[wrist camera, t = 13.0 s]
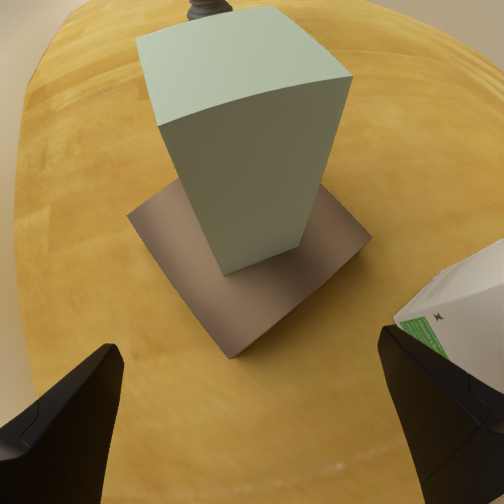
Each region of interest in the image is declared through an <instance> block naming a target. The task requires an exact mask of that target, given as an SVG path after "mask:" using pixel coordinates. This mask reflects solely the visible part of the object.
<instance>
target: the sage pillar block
mask: <svg viewBox="0 0 504 504" xmlns="http://www.w3.org/2000/svg"><path fill="white" fill-rule="evenodd" d="M135 41H136V45H137V49H138V54H139V58H140V62H141V66H142V70H143V74H144V77H145V81H146V85H147V89H148V93H149V96H150V100H151V104H152V107H153V111H154V114H155V118H156V121H157V125H158V128H159V130H160V133H161V135H162V137H163V140H164V142H165V145H166V147H167V150H168V152H169V154H170V157H171V159H172V162H173V164H174V166H175V169H176V171H177V173H178V176H179V178H180V180H181V183H182V185H183V187H184V190H185V192H186V194H187V197H188V199H189V201H190V203H191V206H192V208H193V210H194V212H195V215H196V217H197V219H198V221H199V224H200V226H201V228H202V230H203V233H204V235H205V237H206V239H207V241H208V244H209V246H210V248H211V250H212V252H213V255H214V257H215V259H216V261H217V263H218V265H219V268H220V270H221V272H222V274H223V276H224V275H226V274H229V273H232V272H234V271H237V270H239V269H242V268H244V267H247V266H250V265H252V264H255V263H257V262H260V261H262V260H265V259H267V258H270V257H272V256H275V255H278V254H280V253H283V252H285V251H288V250H290V249H293V248H295V247H298V245H299V243H300V240H301V237H302V234H303V231H304V229H305V226H306V223H307V220H308V217H309V214H310V211H311V208H312V205H313V203H314V200H315V197H316V194H317V191H318V188H319V185H320V182H321V179H322V176H323V173H324V170H325V166H326V163H327V160H328V157H329V154H330V151H331V148H332V145H333V141H334V138H335V135H336V132H337V129H338V125H339V122H340V119H341V116H342V112H343V109H344V106H345V102H346V99H347V95H348V92H349V88H350V85H351V82H352V78H353V75H352V74H351V73H350V72H349V71H348V70H347V69H346V68H345V67H344V66H343V65H342V64H341V63H340V62H339V61H338V60H337V59H336V58H335V57H334V56H333V55H332V54H330V53H329V52H328V51H327V50H326V49H325V48H324V47H323V46H322V45H321V44H320V43H318V42H317V41H316V40H315V39H314V38H313V37H312V36H310V35H309V34H308V33H307V32H306V31H305V30H303V29H302V28H301V27H300V26H299V25H297V24H296V23H295V22H294V21H292V20H291V19H290V18H289V17H287V16H286V15H285V14H283V13H282V12H281V11H279V10H278V9H277V8H275V7H274V6H273V5H271V6H263V7H255V8H249V9H242V10H237V11H231V12H226V13H221V14H216V15H212V16H208V17H203V18H199V19H195V20H192V21H188V22H184V23H181V24H177V25H174V26H171V27H167V28H164V29H161V30H158V31H155V32H152V33H149V34H146V35H144V36H141V37H138V38H136V39H135Z"/></svg>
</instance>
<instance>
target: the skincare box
mask: <svg viewBox="0 0 504 504" xmlns="http://www.w3.org/2000/svg"><path fill="white" fill-rule="evenodd" d="M393 319H394V321H395V323H396V324H397V326H398V327H399V328H401V329H402V330H404V331H405V332H407V333H408V334H410V335H411V336H413V337H415V338H416V339H418V340H419V341H421V342H422V343H424V344H425V345H427V346H428V347H430V348H431V349H433V350H435V351H436V352H438V353H439V354H441V355H442V356H444V357H445V358H447V359H448V360H450V361H451V362H453V363H454V364H456V365H457V366H459V367H460V368H462V369H463V370H465V371H466V372H467V374H468V373H470V374H471V375H473V376H474V377H476V378H477V379H479V380H480V381H482V382H484V383H485V384H487V385H488V386H490V387H492V388H494V389H496V390H497V391H499V392H501V393H503V394H504V237H503V238H501V239H500V240H498V241H496V242H494V243H493V244H491V245H489V246H487V247H485V248H484V249H482V250H480V251H478V252H477V253H475V254H473V255H471V256H469V257H467V258H465V259H463V260H461V261H459V262H457V263H455V264H453V265H451V266H449V267H448V268H446V269H444V270H442V271H440V272H438V273H437V274H436V275H435V276H434V277H433V278H432V279H431V280H430V281H429V282H428V283H427V284H426V285H425V286H424V287H423V288H422V289H421V290H420V291H419V292H418V293H417V294H416V295H415V296H414V297H413V298H412V299H411V300H410V301H409V302H408V303H407V304H406V305H405V306H404V307H403V308H402V309H401V310H400V311H399V312H398V313H396V314H395V315H394V317H393Z"/></svg>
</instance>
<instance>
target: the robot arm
mask: <svg viewBox="0 0 504 504" xmlns="http://www.w3.org/2000/svg"><path fill="white" fill-rule="evenodd" d="M378 352H379V355H380V359H381V363H382V367H383V371H384V375H385V379H386V382H387V386H388V389H389V392H390V394H391V397H392V400H393V403H394V405H395V408H396V411H397V414H398V416H399V419H400V422H401V425H402V428H403V431H404V434H405V437H406V440H407V443H408V446H409V449H410V452H411V455H412V458H413V462H414V465H415V468H416V472H417V475H418V478H419V482H420V484H421V489H422V493H423V497H424V500H425V504H504V394H503V393H501V392H499V391H497V390H496V389H494V388H492V387H490V386H488V385H487V384H485V383H484V382H482V381H480V380H479V379H477V378H476V377H474V376H473V375H471V374H470V373H468V374H467V372H466V371H465V370H463V369H462V368H460V367H459V366H457V365H456V364H454V363H453V362H451V361H450V360H448V359H447V358H445V357H444V356H442V355H441V354H439V353H438V352H436V351H435V350H433V349H431V348H430V347H428V346H427V345H425V344H424V343H422V342H421V341H419V340H418V339H416V338H415V337H413V336H411V335H410V334H408V333H407V332H405V331H404V330H402V329H401V328H399V327H398V326H396V325H393V324H392V325H386V326H383V328H382V330H381V333H380V337H379V341H378ZM123 371H124V361H123V358H122V356H121V354H120V352H119V350H118V347H117V346H116V345H115V344H108V343H106V344H103V345H102V346H101V347H100V348H98V349H97V350H96V351H95V352H94V353H92V354H91V355H90V356H89V357H87V358H86V359H85V360H84V361H83V362H81V363H80V364H79V365H78V366H77V367H75V368H74V369H73V370H72V371H71V372H69V373H68V374H67V375H66V376H65V377H63V378H62V379H61V380H60V381H59V382H57V383H56V384H55V385H54V386H53V387H52V388H50V389H49V390H48V391H47V392H46V393H44V394H43V395H42V396H41V397H40V398H39V399H37V400H36V401H35V402H34V403H33V404H32V405H30V406H29V407H28V408H27V409H25V410H24V411H23V412H22V413H20V414H19V415H18V416H16V417H15V418H14V419H12V420H11V421H9V422H8V423H7V424H5V425H4V426H2V427H1V428H0V504H101V503H100V502H101V496H102V489H103V483H104V476H105V470H106V465H107V459H108V454H109V448H110V443H111V438H112V434H113V429H114V424H115V420H116V415H117V411H118V406H119V401H120V394H121V386H122V378H123Z"/></svg>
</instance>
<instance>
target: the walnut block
mask: <svg viewBox="0 0 504 504" xmlns="http://www.w3.org/2000/svg"><path fill="white" fill-rule="evenodd" d="M127 217H128V219H129V220H130V222H131V223H132V225H133V227H134V228H135V230H136V231H137V233H138V234H139V236H140V237H141V239H142V241H143V242H144V244H145V245H146V247H147V248H148V250H149V251H150V253H151V254H152V256H153V257H154V259H155V260H156V262H157V263H158V265H159V266H160V267H161V269H162V270H163V272H164V273H165V275H166V276H167V278H168V279H169V280H170V282H171V283H172V285H173V286H174V288H175V289H176V290H177V292H178V293H179V295H180V296H181V297H182V299H183V300H184V301H185V303H186V304H187V306H188V307H189V308H190V310H191V311H192V312H193V314H194V315H195V316H196V318H197V319H198V320H199V322H200V323H201V324H202V326H203V327H204V328H205V330H206V331H207V332H208V333H209V335H210V336H211V337H212V339H213V340H214V341H215V342H216V344H217V345H218V346H219V348H220V349H221V350H222V351H223V353H224V354H225V355H226V356H227V358H228V359H229V360H230V359H233V358H234V357H236V356H237V355H238V354H240V353H241V352H242V351H243V350H245V349H246V348H247V347H249V346H250V345H251V344H252V343H254V342H255V341H256V340H257V339H259V338H260V337H261V336H263V335H264V334H265V333H266V332H267V331H269V330H270V329H271V328H272V327H274V326H275V325H276V324H277V323H279V322H280V321H281V320H282V319H283V318H285V317H286V316H287V315H288V314H289V313H291V312H292V311H293V310H294V309H295V308H297V307H298V306H299V305H300V304H301V303H302V302H304V301H305V300H306V299H307V298H308V297H309V296H311V295H312V294H313V293H314V292H315V291H316V290H318V289H319V288H320V287H321V286H322V285H323V284H324V283H326V282H327V281H328V280H329V279H330V278H331V277H332V276H333V275H335V274H336V273H337V272H338V271H339V270H340V269H341V268H342V267H343V266H345V265H346V264H347V263H348V262H349V261H350V260H351V259H352V258H353V257H354V256H355V255H356V254H358V253H359V252H360V251H361V249H362V248H363V247H364V246H365V245H366V244H367V243H368V242H369V241H370V240H371V239H372V238H373V237H372V236H371V235H370V234H369V233H368V232H367V231H366V230H365V229H364V228H363V227H362V226H361V224H360V223H359V222H358V221H357V220H356V219H355V218H354V217H353V216H352V215H351V214H350V213H349V212H348V211H347V210H346V209H345V208H344V207H343V206H342V205H341V204H340V203H339V202H338V201H337V200H336V199H335V198H334V197H333V196H332V195H331V194H330V193H329V192H328V191H327V190H326V189H325V188H324V187H323V186H322V185H321V184H320V185H319V188H318V191H317V194H316V197H315V200H314V203H313V205H312V208H311V211H310V214H309V217H308V220H307V223H306V226H305V229H304V231H303V234H302V237H301V240H300V243H299V245H298V247H295V248H293V249H290V250H288V251H285V252H283V253H280V254H278V255H275V256H272V257H270V258H267V259H265V260H262V261H260V262H257V263H255V264H252V265H250V266H247V267H244V268H242V269H239V270H237V271H234V272H232V273H229V274H226V275H224V276H223V274H222V272H221V270H220V268H219V265H218V263H217V261H216V259H215V257H214V255H213V252H212V250H211V248H210V246H209V244H208V241H207V239H206V237H205V235H204V233H203V230H202V228H201V226H200V224H199V221H198V219H197V217H196V215H195V212H194V210H193V208H192V206H191V203H190V201H189V199H188V197H187V194H186V192H185V190H184V187H183V185H182V183H181V180H180V178H177V179H176V180H175V181H173V182H172V183H170V184H169V185H167V186H166V187H165V188H163V189H162V190H160V191H159V192H158V193H156V194H155V195H154V196H152V197H151V198H149V199H148V200H147V201H145V202H144V203H143V204H141V205H140V206H139V207H137V208H136V209H135V210H134V211H132V212H131V213H130V214H128V215H127Z"/></svg>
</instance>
